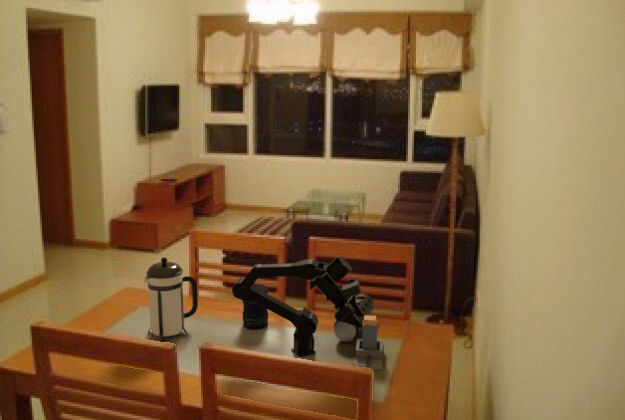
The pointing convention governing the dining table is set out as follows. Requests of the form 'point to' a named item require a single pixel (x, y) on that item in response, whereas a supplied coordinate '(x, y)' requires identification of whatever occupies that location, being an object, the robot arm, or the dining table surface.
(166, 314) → the coffee press
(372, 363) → the end holder
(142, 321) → the dining table surface
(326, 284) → the robot arm
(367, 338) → the orange-capped square pillar
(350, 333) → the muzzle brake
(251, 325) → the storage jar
